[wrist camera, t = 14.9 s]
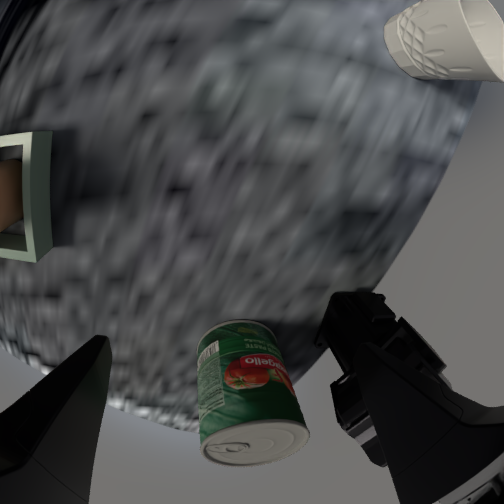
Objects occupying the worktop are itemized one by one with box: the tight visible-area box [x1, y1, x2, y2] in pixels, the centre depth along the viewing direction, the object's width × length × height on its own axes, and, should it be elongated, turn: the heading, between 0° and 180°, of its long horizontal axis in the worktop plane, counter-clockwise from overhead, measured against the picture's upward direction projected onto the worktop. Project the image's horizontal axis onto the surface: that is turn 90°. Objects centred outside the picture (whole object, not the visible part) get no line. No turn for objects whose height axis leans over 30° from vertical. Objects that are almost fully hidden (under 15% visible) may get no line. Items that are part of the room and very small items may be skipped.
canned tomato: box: [197, 320, 310, 467], centre depth 20 cm, size 8×8×11 cm
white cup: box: [384, 0, 504, 83], centre depth 11 cm, size 8×8×10 cm
